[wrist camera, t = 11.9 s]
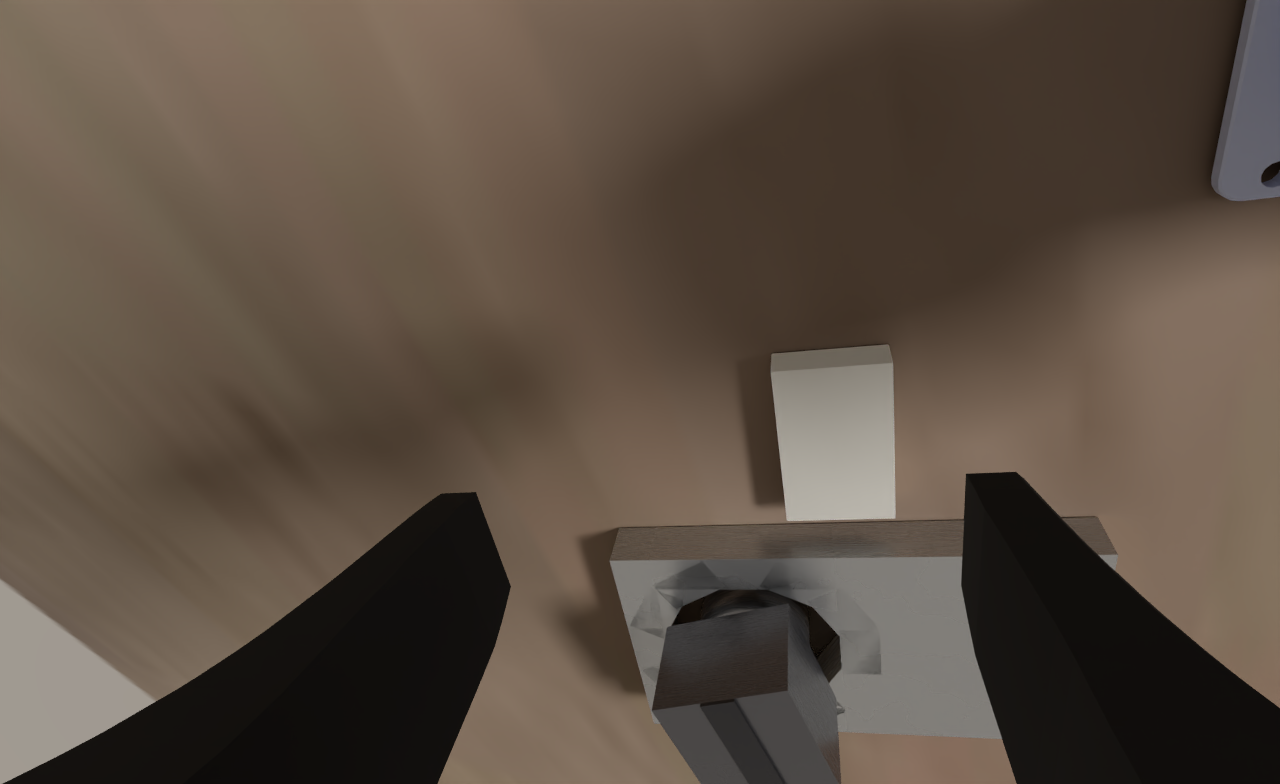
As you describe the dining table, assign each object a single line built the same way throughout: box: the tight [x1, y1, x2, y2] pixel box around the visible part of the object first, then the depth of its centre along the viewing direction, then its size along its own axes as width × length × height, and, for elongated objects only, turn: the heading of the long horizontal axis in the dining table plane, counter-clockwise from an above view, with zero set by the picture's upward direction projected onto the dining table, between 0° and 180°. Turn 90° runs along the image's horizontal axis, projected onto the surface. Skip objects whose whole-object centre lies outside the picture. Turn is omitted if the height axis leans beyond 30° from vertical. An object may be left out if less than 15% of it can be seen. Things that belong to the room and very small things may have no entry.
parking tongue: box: [771, 344, 895, 521], centre depth 20 cm, size 3×5×1 cm, turn 11°
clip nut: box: [652, 590, 841, 784], centre depth 23 cm, size 4×4×5 cm
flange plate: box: [610, 517, 1118, 739], centre depth 23 cm, size 14×8×2 cm, turn 101°
